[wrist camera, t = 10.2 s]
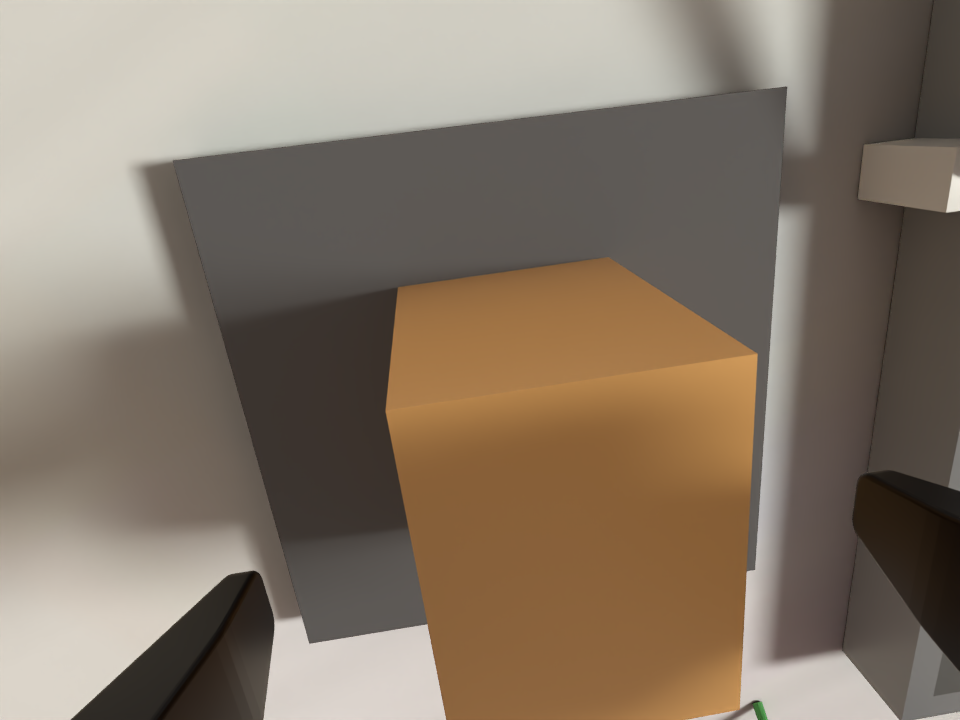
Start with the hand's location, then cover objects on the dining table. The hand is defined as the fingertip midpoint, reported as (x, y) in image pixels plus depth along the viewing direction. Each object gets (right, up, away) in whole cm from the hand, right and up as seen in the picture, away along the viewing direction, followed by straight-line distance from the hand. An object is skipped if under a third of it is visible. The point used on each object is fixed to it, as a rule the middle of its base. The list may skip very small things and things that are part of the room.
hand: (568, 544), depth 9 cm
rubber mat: (-1, +2, +6) cm, 6 cm away
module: (0, +2, +5) cm, 5 cm away
